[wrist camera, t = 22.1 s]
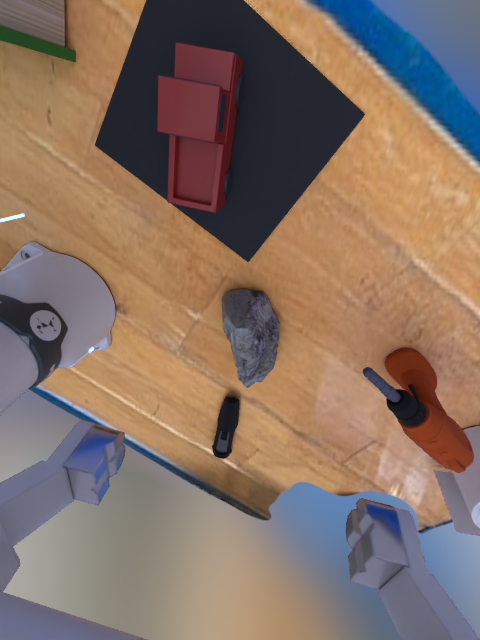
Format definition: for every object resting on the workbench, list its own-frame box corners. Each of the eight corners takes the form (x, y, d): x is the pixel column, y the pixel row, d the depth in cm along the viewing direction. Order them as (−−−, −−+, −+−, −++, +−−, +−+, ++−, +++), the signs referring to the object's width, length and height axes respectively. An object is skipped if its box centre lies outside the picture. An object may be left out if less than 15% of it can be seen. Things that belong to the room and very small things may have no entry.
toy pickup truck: (229, 204, 36) (210, 220, 29) (181, 193, 37) (152, 207, 30) (248, 62, 29) (229, 41, 23) (189, 51, 30) (153, 28, 23)
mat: (248, 261, 40) (248, 262, 39) (96, 145, 36) (94, 145, 36) (364, 114, 30) (365, 114, 30) (172, -66, 26) (170, -69, 26)
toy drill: (360, 287, 37) (400, 381, 25) (439, 372, 44) (501, 479, 32) (326, 310, 40) (348, 406, 27) (407, 388, 46) (453, 493, 34)
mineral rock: (265, 373, 49) (256, 424, 40) (202, 345, 48) (179, 390, 40) (305, 309, 42) (304, 354, 33) (232, 275, 41) (212, 312, 33)
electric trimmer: (246, 393, 52) (242, 407, 49) (231, 451, 60) (228, 465, 57) (224, 387, 52) (219, 400, 49) (212, 445, 60) (208, 460, 57)
